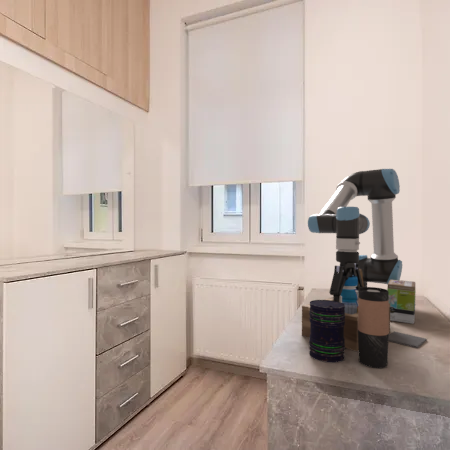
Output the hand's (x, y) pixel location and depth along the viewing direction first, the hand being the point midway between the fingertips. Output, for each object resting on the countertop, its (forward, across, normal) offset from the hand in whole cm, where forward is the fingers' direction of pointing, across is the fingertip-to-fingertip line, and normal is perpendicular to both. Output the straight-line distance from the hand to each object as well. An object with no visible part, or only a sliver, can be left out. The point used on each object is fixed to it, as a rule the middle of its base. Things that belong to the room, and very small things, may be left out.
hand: (346, 311), depth 110 cm
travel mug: (+8, -18, -16) cm, 25 cm away
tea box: (+8, +36, -6) cm, 37 cm away
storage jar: (+8, -23, -5) cm, 25 cm away
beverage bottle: (+8, 0, 0) cm, 8 cm away
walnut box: (+8, 0, 0) cm, 8 cm away
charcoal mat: (+8, +8, -16) cm, 19 cm away
